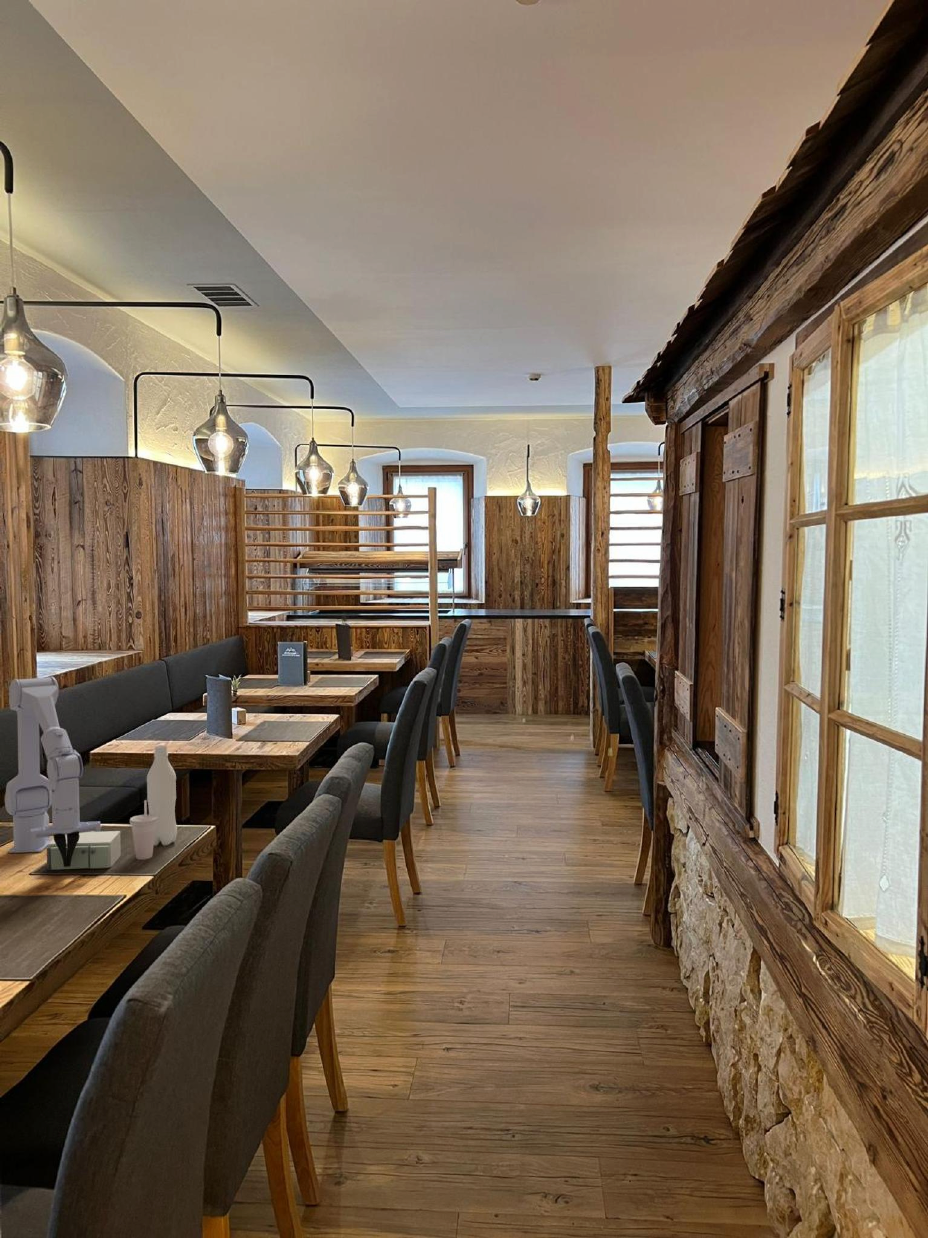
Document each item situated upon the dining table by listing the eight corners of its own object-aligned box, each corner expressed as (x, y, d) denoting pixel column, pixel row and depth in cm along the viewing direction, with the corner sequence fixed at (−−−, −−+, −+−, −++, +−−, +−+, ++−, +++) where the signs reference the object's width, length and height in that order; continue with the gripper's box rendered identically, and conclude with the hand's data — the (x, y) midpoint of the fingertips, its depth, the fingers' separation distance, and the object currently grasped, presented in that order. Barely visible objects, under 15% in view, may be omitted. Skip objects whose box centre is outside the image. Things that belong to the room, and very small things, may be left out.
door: (48, 868, 210) (47, 847, 210) (89, 866, 212) (89, 845, 211) (45, 871, 208) (44, 850, 208) (87, 869, 210) (86, 848, 209)
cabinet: (61, 857, 220) (60, 832, 219) (120, 855, 221) (120, 831, 221) (45, 873, 208) (44, 847, 208) (108, 870, 210) (107, 845, 210)
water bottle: (183, 841, 232) (181, 745, 231) (160, 849, 226) (158, 750, 225) (164, 837, 236) (163, 742, 235) (141, 844, 230) (139, 747, 229)
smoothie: (149, 862, 216) (148, 804, 215) (124, 860, 217) (123, 803, 217) (163, 853, 222) (162, 797, 222) (139, 852, 224) (138, 796, 223)
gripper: (31, 815, 200) (32, 875, 201) (101, 807, 207) (102, 866, 207) (30, 807, 206) (31, 866, 207) (98, 800, 213) (99, 857, 214)
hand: (67, 865), depth 208 cm, fingers closed
